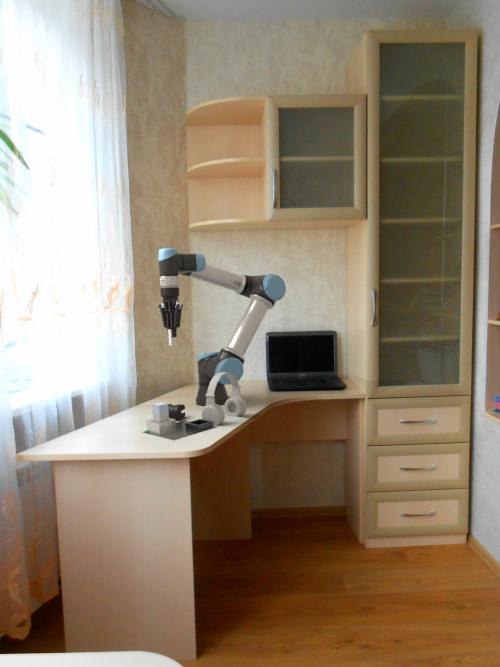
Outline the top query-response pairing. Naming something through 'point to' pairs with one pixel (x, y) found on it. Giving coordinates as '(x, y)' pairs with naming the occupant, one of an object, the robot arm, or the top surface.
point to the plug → (160, 412)
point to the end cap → (176, 411)
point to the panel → (177, 428)
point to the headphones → (232, 405)
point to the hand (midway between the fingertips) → (172, 345)
